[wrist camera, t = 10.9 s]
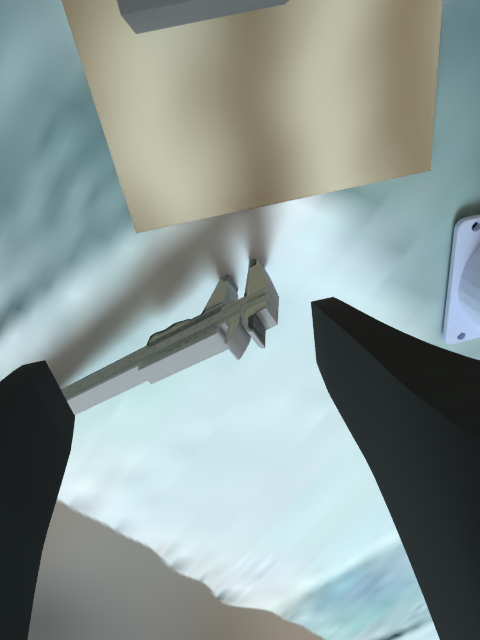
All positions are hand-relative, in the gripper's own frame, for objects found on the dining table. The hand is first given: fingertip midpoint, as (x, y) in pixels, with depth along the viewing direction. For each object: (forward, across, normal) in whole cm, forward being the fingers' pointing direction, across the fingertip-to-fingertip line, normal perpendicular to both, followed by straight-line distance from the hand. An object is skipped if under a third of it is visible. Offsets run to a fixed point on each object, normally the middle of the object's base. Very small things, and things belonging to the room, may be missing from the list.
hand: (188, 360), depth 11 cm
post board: (+10, -5, -8) cm, 14 cm away
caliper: (+11, +6, +6) cm, 14 cm away
